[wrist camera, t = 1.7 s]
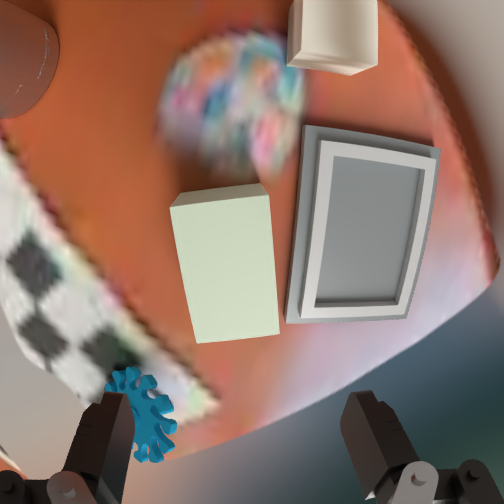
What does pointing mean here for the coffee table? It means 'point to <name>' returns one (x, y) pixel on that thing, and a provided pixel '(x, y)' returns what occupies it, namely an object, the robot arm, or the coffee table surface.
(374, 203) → the plate
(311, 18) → the cube
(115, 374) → the gear
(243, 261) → the brick
